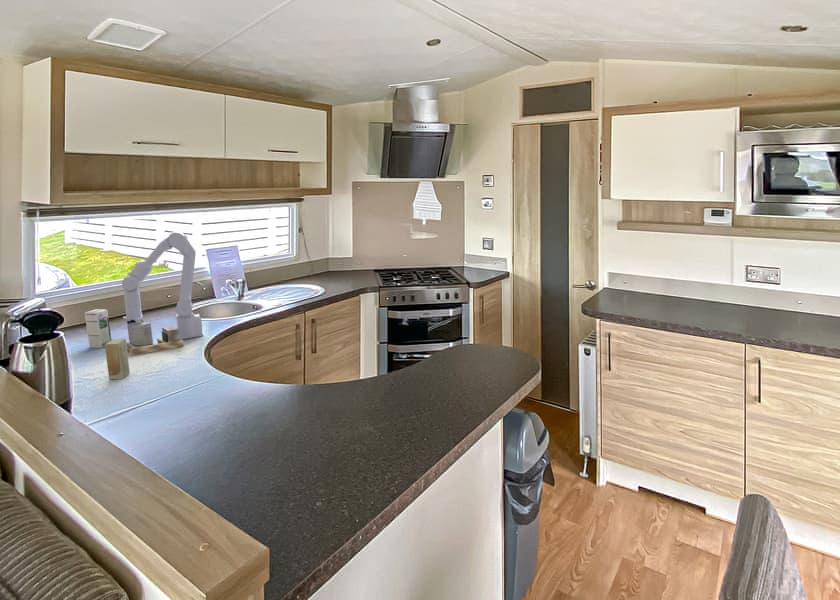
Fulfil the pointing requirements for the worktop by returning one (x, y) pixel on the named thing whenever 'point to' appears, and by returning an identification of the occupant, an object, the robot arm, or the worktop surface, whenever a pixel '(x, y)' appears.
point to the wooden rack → (160, 342)
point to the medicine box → (140, 333)
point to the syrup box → (98, 328)
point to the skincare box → (117, 358)
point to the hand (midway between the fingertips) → (136, 337)
